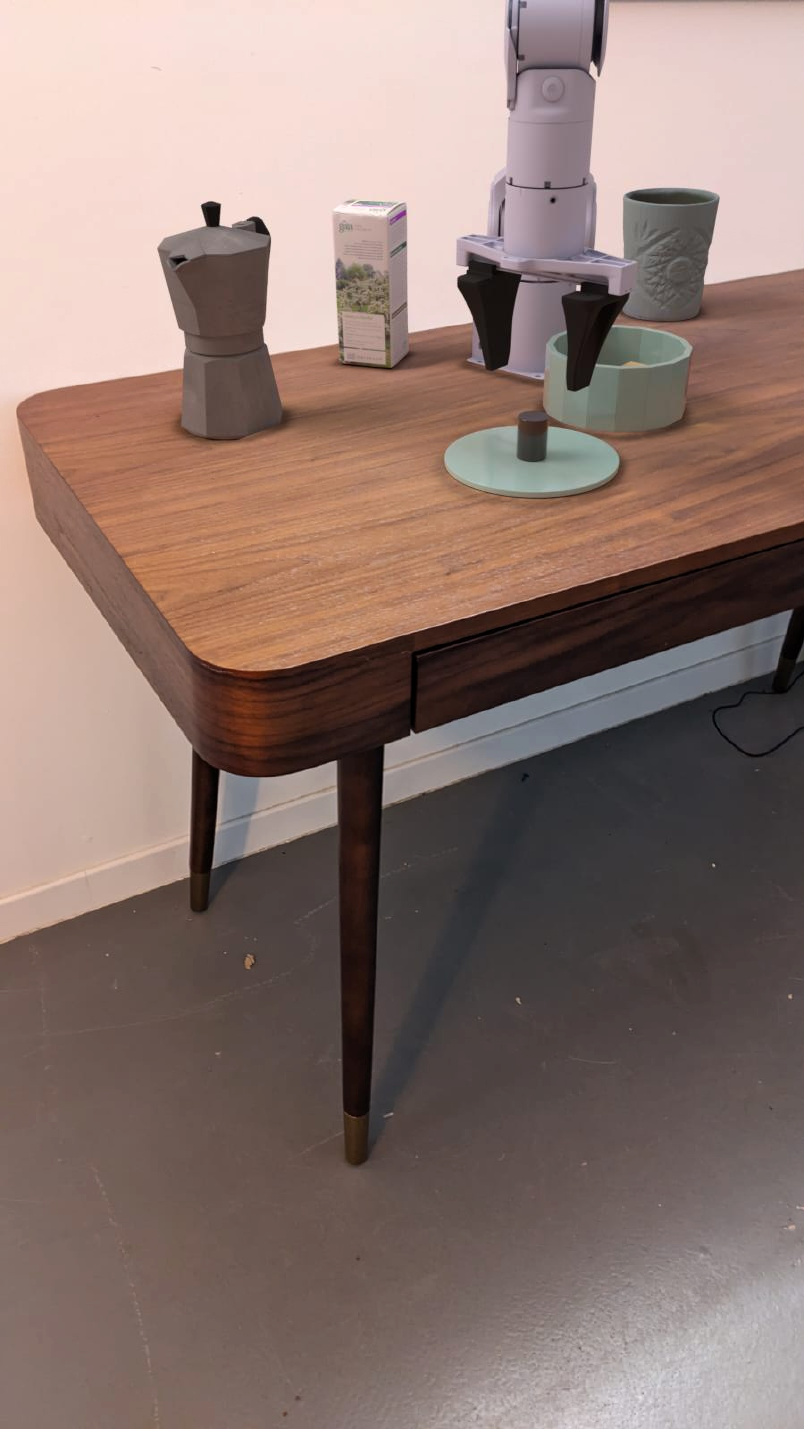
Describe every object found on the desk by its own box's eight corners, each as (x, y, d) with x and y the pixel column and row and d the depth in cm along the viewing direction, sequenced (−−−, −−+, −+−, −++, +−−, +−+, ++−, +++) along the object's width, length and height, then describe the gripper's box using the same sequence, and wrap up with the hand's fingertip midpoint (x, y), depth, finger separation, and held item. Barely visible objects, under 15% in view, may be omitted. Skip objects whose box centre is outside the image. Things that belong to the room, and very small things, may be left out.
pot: (516, 416, 99) (519, 348, 96) (593, 381, 107) (598, 317, 103) (634, 449, 93) (642, 377, 89) (708, 409, 100) (718, 342, 97)
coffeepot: (244, 455, 93) (222, 222, 83) (147, 441, 96) (113, 214, 86) (323, 395, 105) (311, 185, 94) (234, 384, 108) (213, 179, 97)
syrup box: (410, 352, 115) (408, 199, 107) (391, 370, 110) (388, 211, 102) (358, 348, 116) (352, 196, 108) (337, 365, 112) (329, 208, 104)
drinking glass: (684, 328, 121) (699, 207, 114) (597, 315, 125) (607, 198, 118) (717, 306, 127) (733, 191, 121) (634, 294, 132) (645, 183, 125)
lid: (408, 474, 89) (407, 420, 87) (513, 425, 98) (515, 375, 95) (551, 521, 82) (555, 464, 79) (651, 465, 90) (657, 411, 87)
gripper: (429, 179, 79) (429, 371, 87) (603, 203, 71) (586, 412, 79) (491, 166, 84) (486, 349, 91) (662, 187, 75) (640, 386, 83)
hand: (536, 377), depth 85 cm, fingers open, 7 cm apart
